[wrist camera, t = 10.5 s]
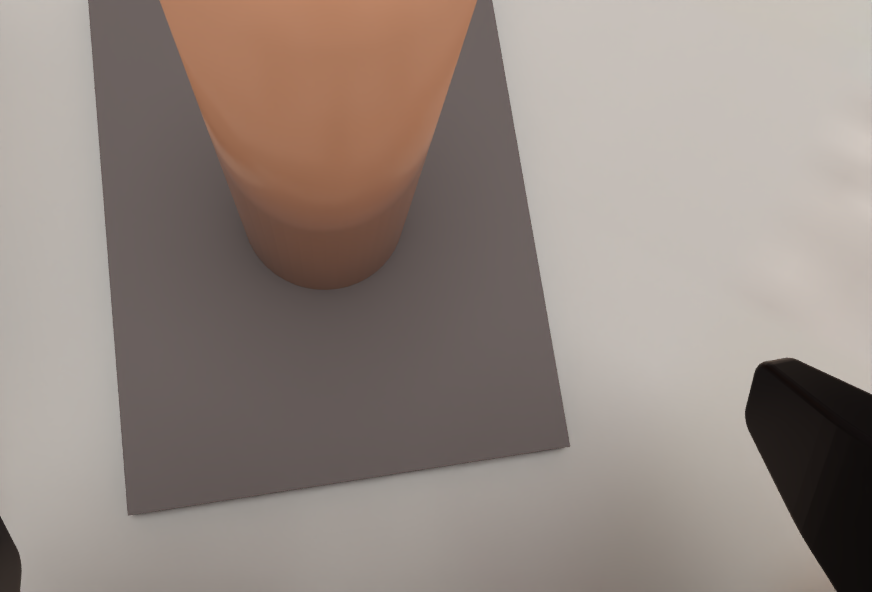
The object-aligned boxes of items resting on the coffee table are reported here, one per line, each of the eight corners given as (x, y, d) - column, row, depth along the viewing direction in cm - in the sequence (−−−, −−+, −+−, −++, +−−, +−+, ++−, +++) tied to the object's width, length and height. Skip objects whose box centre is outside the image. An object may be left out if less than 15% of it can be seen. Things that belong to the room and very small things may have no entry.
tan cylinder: (371, 312, 21) (432, 106, 8) (217, 255, 20) (52, -43, 8) (425, 170, 22) (551, -200, 9) (279, 113, 21) (214, -340, 9)
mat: (563, 446, 21) (570, 446, 21) (133, 513, 19) (128, 515, 19) (481, -28, 24) (484, -40, 23) (93, -6, 22) (87, -18, 21)
